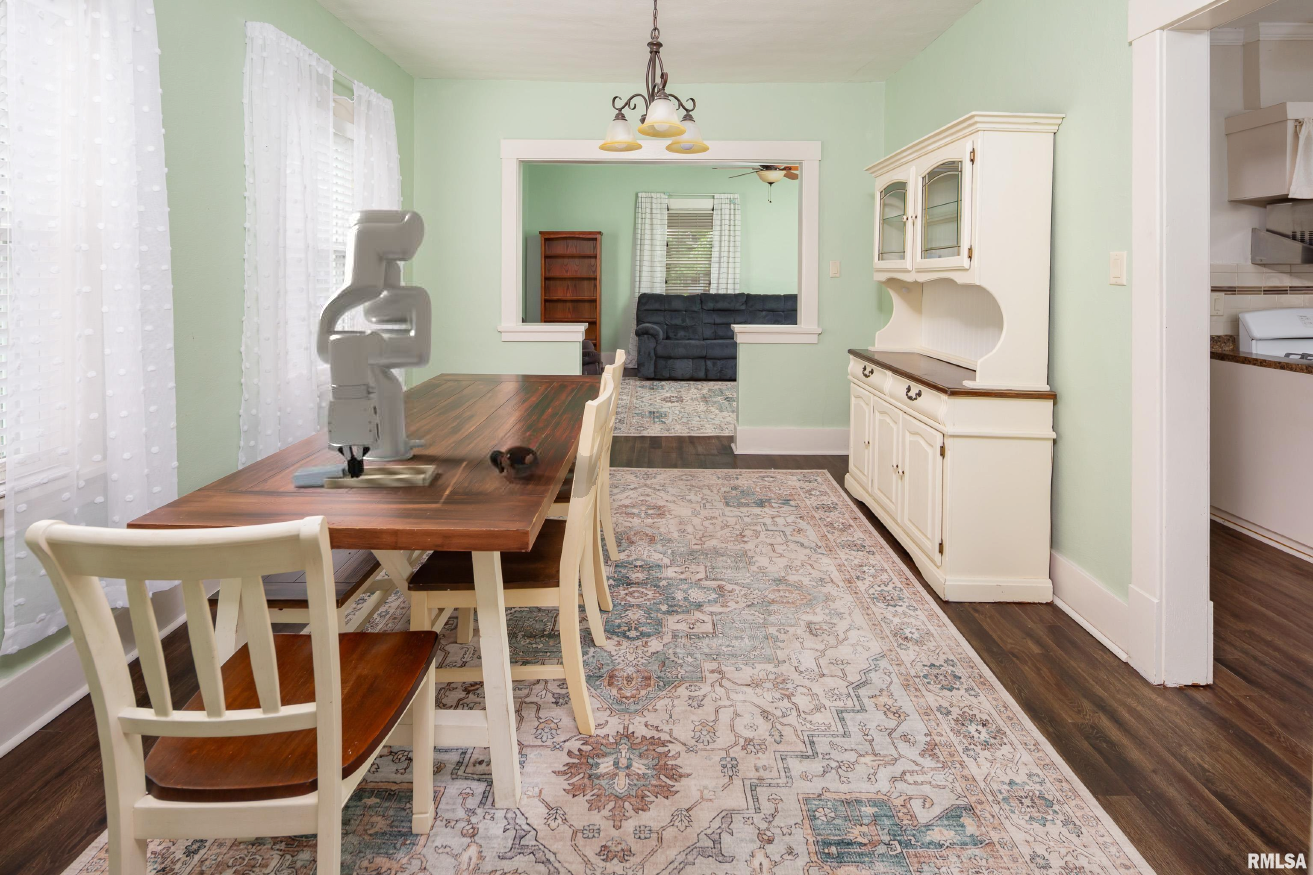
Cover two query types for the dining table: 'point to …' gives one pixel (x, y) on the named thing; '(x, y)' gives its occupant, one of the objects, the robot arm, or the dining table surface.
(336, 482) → the tray
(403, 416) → the robot arm
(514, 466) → the pottery mug
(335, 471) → the cover plate
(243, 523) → the dining table surface
